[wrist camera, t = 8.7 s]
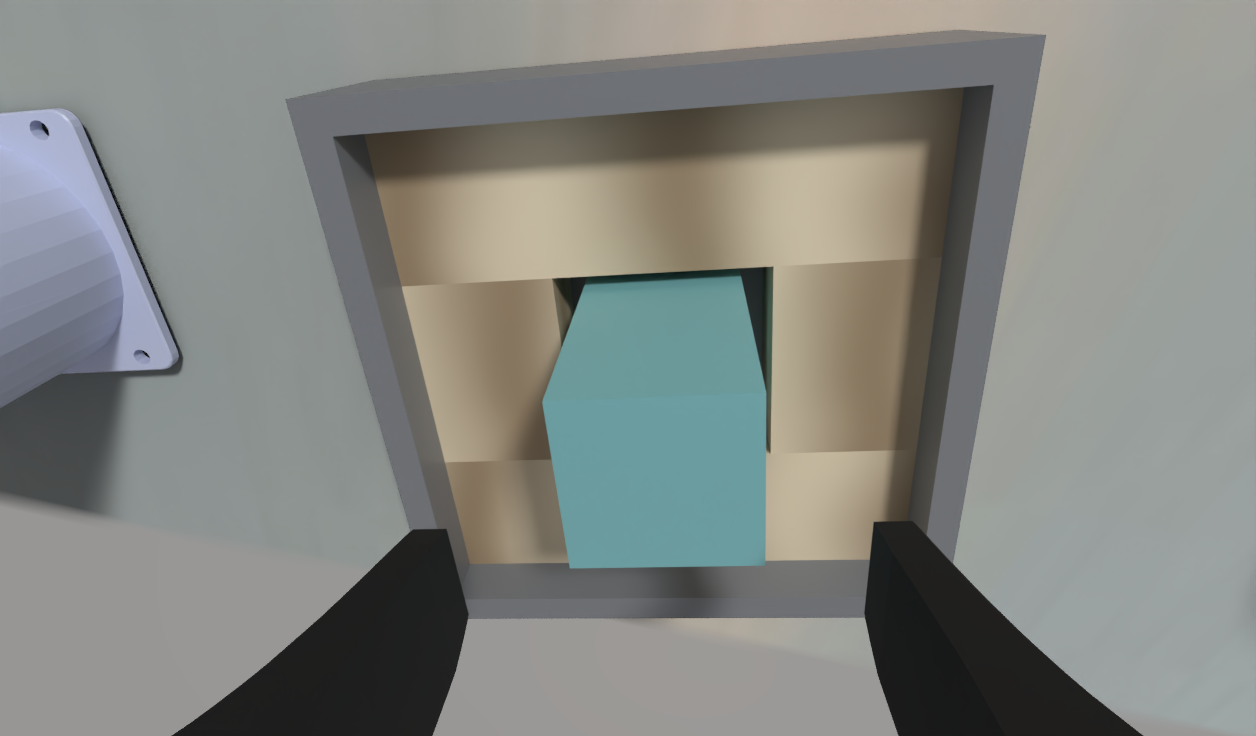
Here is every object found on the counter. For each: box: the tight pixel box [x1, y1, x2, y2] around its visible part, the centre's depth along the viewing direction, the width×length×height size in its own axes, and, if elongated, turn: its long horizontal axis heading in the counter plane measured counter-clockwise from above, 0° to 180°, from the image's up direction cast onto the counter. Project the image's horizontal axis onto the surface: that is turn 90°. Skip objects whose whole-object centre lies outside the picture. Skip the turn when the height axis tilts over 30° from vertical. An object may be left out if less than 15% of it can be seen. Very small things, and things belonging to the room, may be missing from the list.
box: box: [285, 30, 1046, 619], centre depth 19 cm, size 15×15×4 cm
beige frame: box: [364, 87, 964, 564], centre depth 19 cm, size 13×13×2 cm
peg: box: [542, 268, 766, 568], centre depth 17 cm, size 4×4×8 cm
